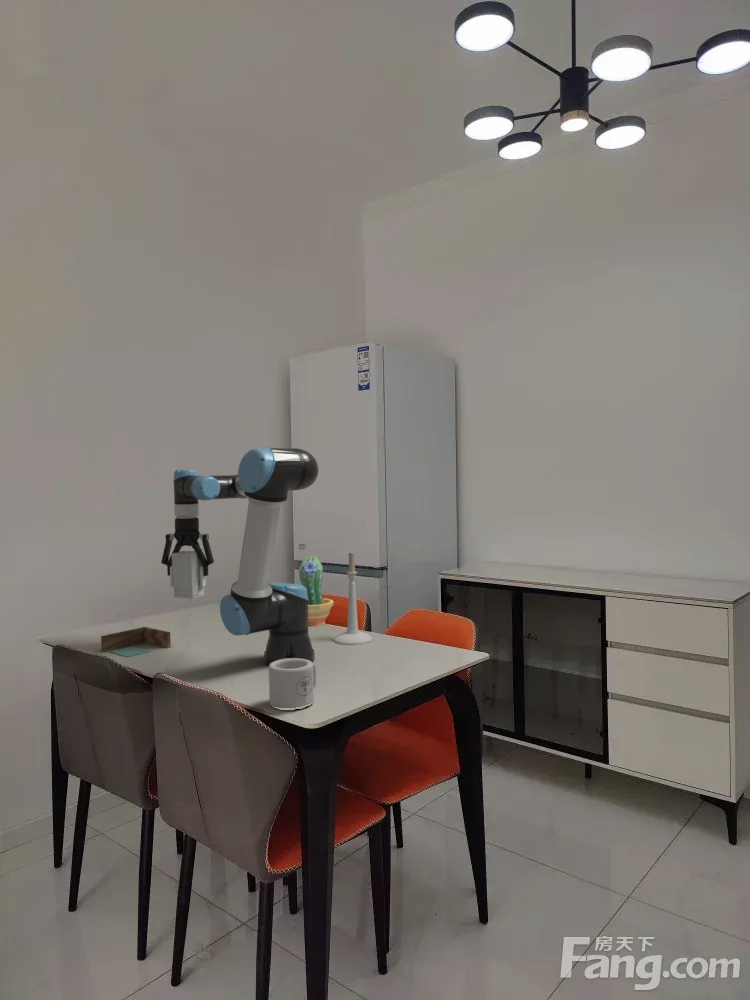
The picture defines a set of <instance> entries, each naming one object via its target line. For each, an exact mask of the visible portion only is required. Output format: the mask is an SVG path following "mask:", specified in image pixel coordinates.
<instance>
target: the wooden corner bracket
mask: <svg viewBox="0 0 750 1000" xmlns="http://www.w3.org/2000/svg"><path fill="white" fill-rule="evenodd" d="M100 642H101V643H100V645H101V648H100V649H101V652H102V653H106V652H110V651H114V650H118V649H122V648H126V647H131V646H135V645H140V644H149V645H153V646H156V647H157V646H158V647H161V648H166V649H170V648H171V647H172V646H171V645H172V643H171V632H170V631H165V630H162V629H158V628H152V627H147V626H142V627H137V628H132V629H128V630H122V631H120V632H114V633H109V634H106V635H101V636H100Z"/></svg>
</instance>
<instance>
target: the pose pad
mask: <svg viewBox="0 0 750 1000" xmlns="http://www.w3.org/2000/svg"><path fill="white" fill-rule="evenodd" d="M150 652H151V650H148V649H146V648H145V649H144V648H141V647H138V646H137V647H136V646H134V645H132V646H128V647H124V648H119V649H115V650H111V651H109V653H110V654H115V655H119V656H121V657H125V658H129V657H134V656H135V657H136V656H139V655H142V654H146V653H150Z"/></svg>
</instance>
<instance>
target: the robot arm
mask: <svg viewBox="0 0 750 1000" xmlns="http://www.w3.org/2000/svg"><path fill="white" fill-rule="evenodd" d="M318 475H319V465H318V462H317V459H316V458H315V457H314V455H313V454H311V453H310V452H309V451H307V450H305V449H303V448H286V447H284V448H283V447H282V448H280V447H279V448H277V447H261V448H259V447H258V448H252V449H250V450H248V451H247V452H246V453H245V454H244V455H243V457H242V458H241V460H240V462H239V465H238V469H237V474H231V475H222V474H221V475H199V474H198V470H197V469H176V470H174V472H173V480H172V482H173V499H174V502H173V503H174V504H173V505H174V506H173V507H174V517H175V519H174V530H175V531H174V533H166V534H165V536H164V537H165V544H164V549H163V552H162V558H161V564H162V565H165V566H166V567H167V569H166V570H167V576H168V577H169V579H170V580H169V583H170V585H169V586H170V587H174V586H173V570H172V555H170V554H172V553H177V552H180V550H181V549H182V548H183V547H185V546H187V547H192V549H193V550H194V551H195V552H196V553H197V556H198V558H199V560H200V562H201V563H202V566H201V567H200V583H201V587H204V588H205V586H206V585H207V583H206V582H207V577H208V576H209V567H210V565H212V564H214V563H215V560H214V557H213V554H212V549H211V546H210V542H209V538H210V537H209V536H210V535H209V533H205V534H204V533H200V530H199V529H200V520H199V517H198V516H199V513H200V512H199V500H200V501H204V502H205V501H210V500H226V499H247V500H248V504H247V505H248V506H247V511H246V519H245V527H244V533H243V539H242V540H243V541H242V547H241V548H242V549H241V555H240V560H239V561H240V562H239V570H238V575H237V580H236V581H234V582H233V583H232V584H231V587H230V594H225V595H224V596H222V598H221V600H220V603H219V612H220V613H219V614H220V617H221V621H222V623H223V626H224V628H225V629H226V630H227V632H228V633H230V634H231V635H232V636H235V637H236V636H244V635H245V636H248V635H251V634H255V633H260V632H265V631H268V639H267V643H266V646H265V651H264V653H263V663H264V664H266V665H267V666H269V665H270V664H271V663H272V662H274V661H277V660H281V659H288V658H300V659H306V660H309V661H311V662H312V663H314V661H315V658H316V657H315V650H314V648H313V645H312V641H311V638H310V634H309V626H308V595H307V589H306V587H304V586H302V584H298V583H287V582H270V581H269V580H270V575H271V570H272V562H273V555H274V550H275V548H274V547H275V542H276V538H277V536H276V535H277V529H278V523H279V516H280V508H281V505H282V504H285V502H287V501H288V496H289V495H288V494H289V491H300V490H304V489H307V488H309V487H311V486H312V485H313V484H314V483H315V482H316V480H317V479H318ZM174 539H175V540H176V543H175V545H174V548H173V550H172V552H171V549H172V547H173V546H172V544H173V541H174ZM199 539H200V540H201V544H202V546H203V550H202V548H201V546H200V543H199V541H198V540H199ZM203 551H204V552H203ZM269 582H270V583H269Z"/></svg>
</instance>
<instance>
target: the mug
mask: <svg viewBox="0 0 750 1000" xmlns="http://www.w3.org/2000/svg"><path fill="white" fill-rule="evenodd" d="M268 686H269V689H268V690H269V691H268V693H269V698H268V699H269V700H268V702H269V706H270V705H271V706H273V707H278V708H296V707H302V706H305V705H308V704H310V703H312V702H313V700H314V698H315V697H314V689H315V687H317V665H316V664H315V663H314V662H311V661H309V660H306V659H300V658H288V659H281V660H277V661H274V662H272V663H271V664H270V665H268ZM313 703H314V702H313ZM273 707H272V708H273Z"/></svg>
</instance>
